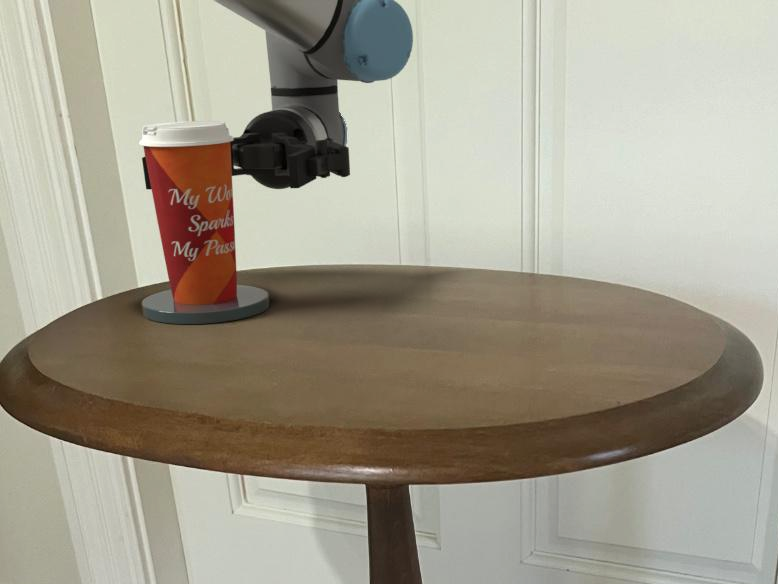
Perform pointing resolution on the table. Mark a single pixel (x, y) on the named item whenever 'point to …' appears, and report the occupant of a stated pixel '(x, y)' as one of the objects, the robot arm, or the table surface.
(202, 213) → the paper cup
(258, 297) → the coaster
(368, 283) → the table surface
